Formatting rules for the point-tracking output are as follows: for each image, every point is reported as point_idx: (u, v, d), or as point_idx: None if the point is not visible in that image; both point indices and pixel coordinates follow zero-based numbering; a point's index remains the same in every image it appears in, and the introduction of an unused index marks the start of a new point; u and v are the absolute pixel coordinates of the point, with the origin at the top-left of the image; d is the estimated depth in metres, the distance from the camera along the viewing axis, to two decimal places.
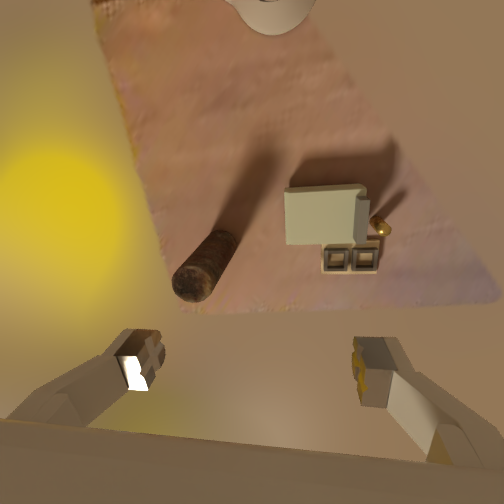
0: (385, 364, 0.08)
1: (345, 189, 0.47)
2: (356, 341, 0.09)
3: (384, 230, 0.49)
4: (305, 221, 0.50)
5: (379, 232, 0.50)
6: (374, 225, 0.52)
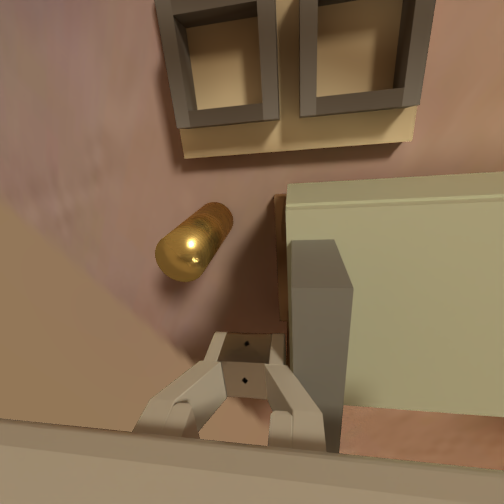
0: (260, 358, 0.09)
1: (363, 405, 0.13)
2: (247, 337, 0.10)
3: (181, 260, 0.12)
4: None
5: (197, 252, 0.12)
6: (219, 243, 0.14)
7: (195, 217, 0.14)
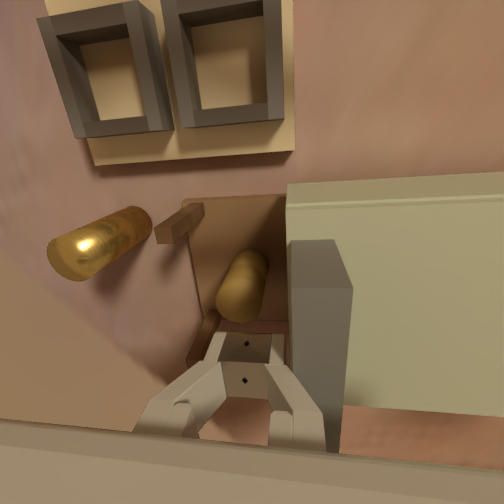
0: (260, 358, 0.09)
1: (363, 404, 0.13)
2: (247, 337, 0.10)
3: (70, 261, 0.13)
4: None
5: (83, 254, 0.12)
6: (122, 245, 0.15)
7: (97, 221, 0.15)
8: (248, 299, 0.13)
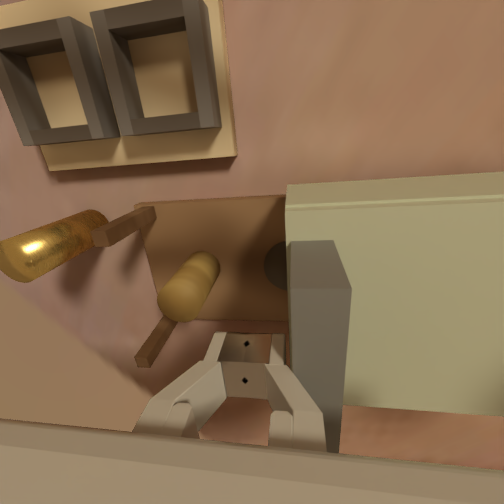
0: (260, 358, 0.09)
1: (363, 404, 0.13)
2: (247, 337, 0.10)
3: (16, 263, 0.13)
4: None
5: (26, 256, 0.13)
6: (73, 247, 0.16)
7: (48, 224, 0.15)
8: (187, 299, 0.14)
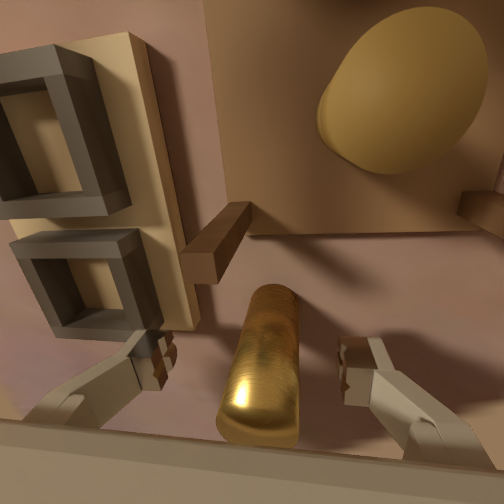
0: (366, 363, 0.08)
1: None
2: (340, 340, 0.10)
3: (258, 429, 0.07)
4: None
5: (242, 408, 0.07)
6: (271, 336, 0.09)
7: None
8: (386, 62, 0.04)
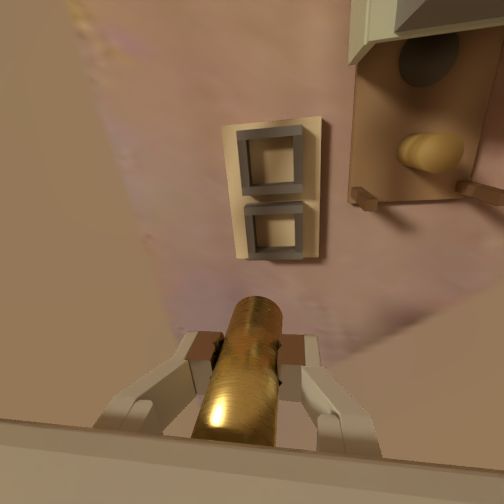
0: (296, 360, 0.09)
1: None
2: (279, 338, 0.10)
3: None
4: None
5: (215, 433, 0.07)
6: (250, 353, 0.09)
7: None
8: (438, 144, 0.16)
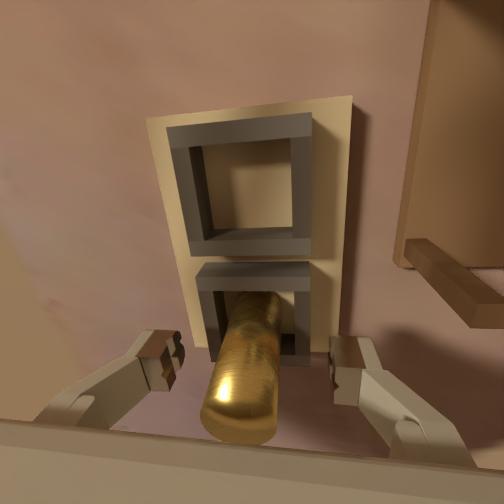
0: (355, 362, 0.08)
1: None
2: (330, 340, 0.10)
3: (239, 421, 0.08)
4: None
5: (224, 402, 0.08)
6: (253, 335, 0.10)
7: None
8: None
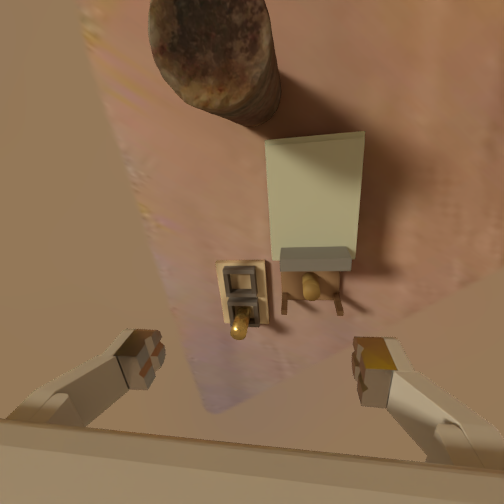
0: (385, 364, 0.08)
1: None
2: (356, 341, 0.09)
3: (238, 333, 0.40)
4: (309, 173, 0.29)
5: (235, 329, 0.39)
6: (241, 317, 0.41)
7: None
8: (309, 290, 0.37)
